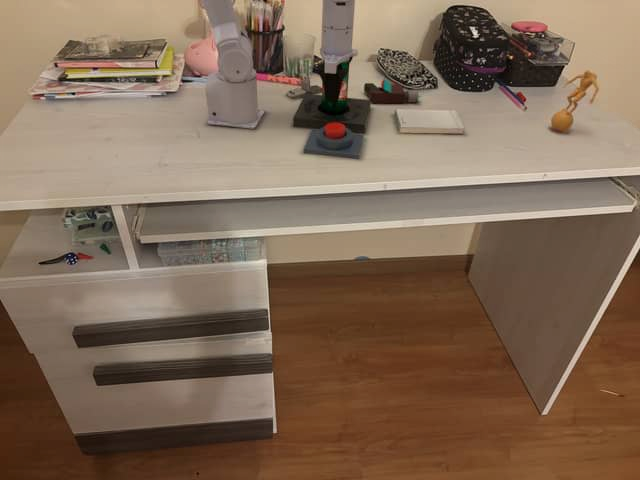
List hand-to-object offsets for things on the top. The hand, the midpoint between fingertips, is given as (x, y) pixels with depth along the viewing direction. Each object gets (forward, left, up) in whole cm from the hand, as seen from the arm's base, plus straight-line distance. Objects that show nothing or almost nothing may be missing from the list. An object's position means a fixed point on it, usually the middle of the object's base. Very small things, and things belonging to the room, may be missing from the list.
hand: (334, 96), depth 101 cm
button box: (+2, -12, -4) cm, 13 cm away
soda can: (0, 0, -4) cm, 4 cm away
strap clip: (-8, +11, -5) cm, 14 cm away
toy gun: (+11, +14, -5) cm, 18 cm away
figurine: (+46, +5, -5) cm, 46 cm away
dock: (0, 0, -4) cm, 4 cm away
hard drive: (+19, +1, -5) cm, 20 cm away
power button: (+2, -12, -2) cm, 12 cm away
